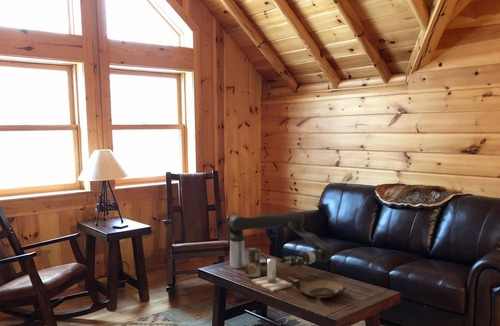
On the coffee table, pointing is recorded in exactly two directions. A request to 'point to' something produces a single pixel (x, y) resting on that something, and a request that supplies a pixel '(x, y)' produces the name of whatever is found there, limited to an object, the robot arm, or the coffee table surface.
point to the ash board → (271, 286)
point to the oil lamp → (318, 288)
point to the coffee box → (252, 262)
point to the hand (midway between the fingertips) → (285, 263)
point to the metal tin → (271, 270)
